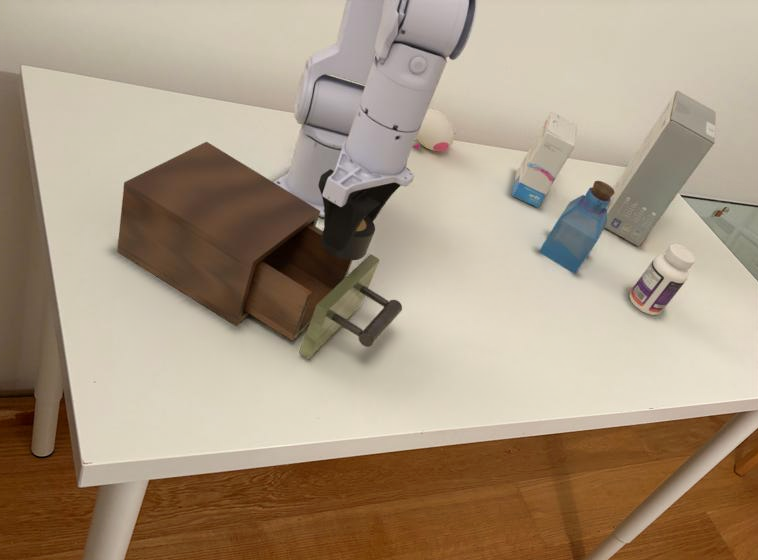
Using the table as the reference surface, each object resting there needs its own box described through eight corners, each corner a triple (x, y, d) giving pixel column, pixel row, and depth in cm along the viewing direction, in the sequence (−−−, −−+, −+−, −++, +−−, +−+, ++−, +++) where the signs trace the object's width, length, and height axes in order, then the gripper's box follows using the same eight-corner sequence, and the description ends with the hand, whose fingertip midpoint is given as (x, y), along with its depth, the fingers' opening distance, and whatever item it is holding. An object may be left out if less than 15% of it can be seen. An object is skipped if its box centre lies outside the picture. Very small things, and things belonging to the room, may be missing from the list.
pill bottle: (661, 302, 108) (700, 253, 102) (659, 321, 104) (700, 271, 98) (629, 285, 108) (667, 234, 102) (626, 304, 104) (664, 252, 98)
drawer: (397, 327, 80) (418, 282, 76) (349, 384, 72) (370, 338, 67) (260, 243, 82) (273, 194, 77) (196, 289, 73) (207, 237, 69)
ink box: (539, 209, 114) (576, 145, 106) (510, 196, 113) (546, 130, 105) (543, 185, 120) (578, 122, 112) (516, 172, 120) (549, 108, 112)
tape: (335, 223, 75) (343, 200, 73) (374, 247, 75) (383, 224, 73) (311, 242, 72) (319, 218, 70) (352, 267, 71) (361, 244, 69)
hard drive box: (639, 249, 117) (715, 143, 104) (597, 226, 117) (668, 118, 104) (648, 209, 129) (717, 110, 116) (610, 189, 129) (675, 87, 116)
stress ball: (441, 173, 117) (469, 141, 116) (428, 157, 109) (457, 123, 108) (409, 145, 118) (436, 113, 118) (393, 127, 111) (422, 93, 110)
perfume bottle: (585, 256, 109) (628, 191, 101) (575, 274, 104) (619, 207, 97) (550, 234, 110) (590, 168, 102) (538, 251, 105) (579, 184, 97)
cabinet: (300, 271, 82) (320, 210, 77) (235, 326, 73) (253, 262, 67) (194, 205, 83) (206, 141, 78) (116, 251, 74) (123, 182, 68)
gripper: (394, 163, 58) (346, 287, 67) (458, 113, 69) (409, 225, 78) (320, 119, 58) (282, 248, 67) (395, 76, 69) (354, 192, 78)
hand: (346, 233), depth 72 cm, fingers closed on tape, 5 cm apart
